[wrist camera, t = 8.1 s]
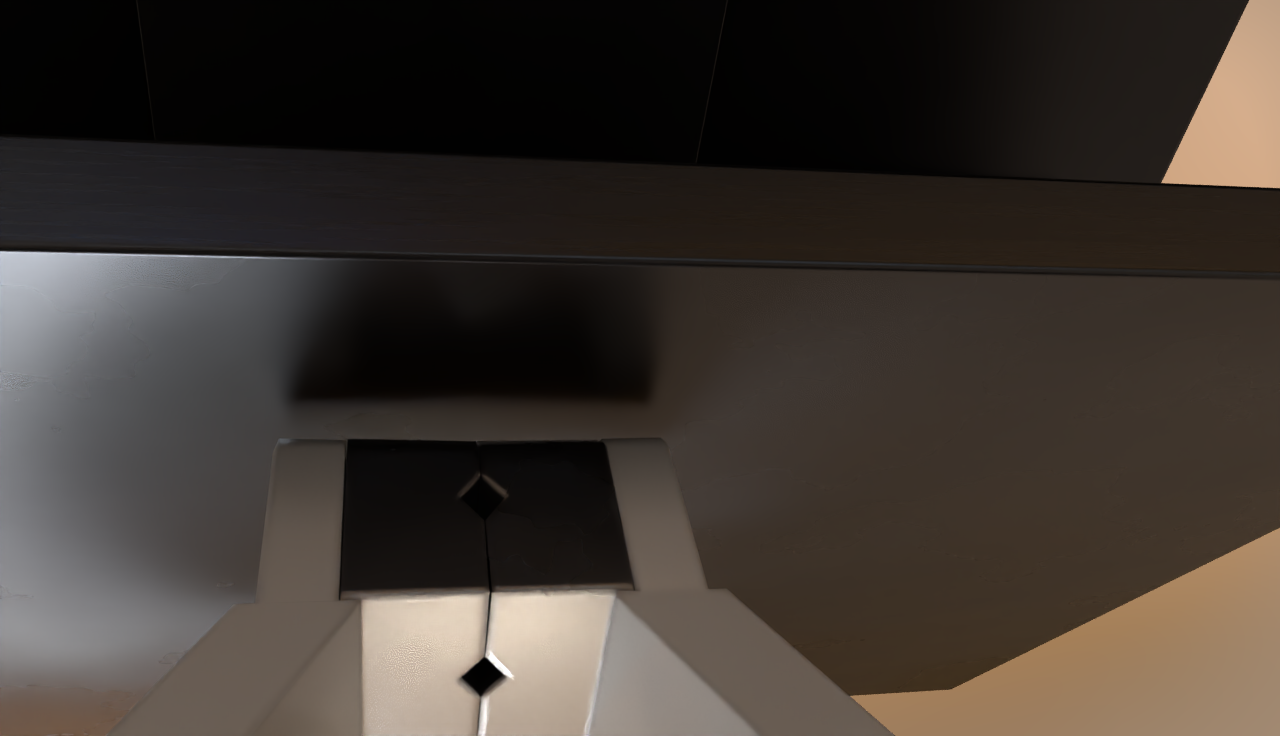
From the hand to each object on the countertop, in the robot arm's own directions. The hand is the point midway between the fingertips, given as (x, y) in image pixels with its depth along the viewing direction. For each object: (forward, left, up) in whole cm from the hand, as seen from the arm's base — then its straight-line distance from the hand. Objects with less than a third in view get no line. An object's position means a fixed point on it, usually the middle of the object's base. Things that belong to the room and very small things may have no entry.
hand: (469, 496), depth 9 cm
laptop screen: (+4, 0, -3) cm, 5 cm away
